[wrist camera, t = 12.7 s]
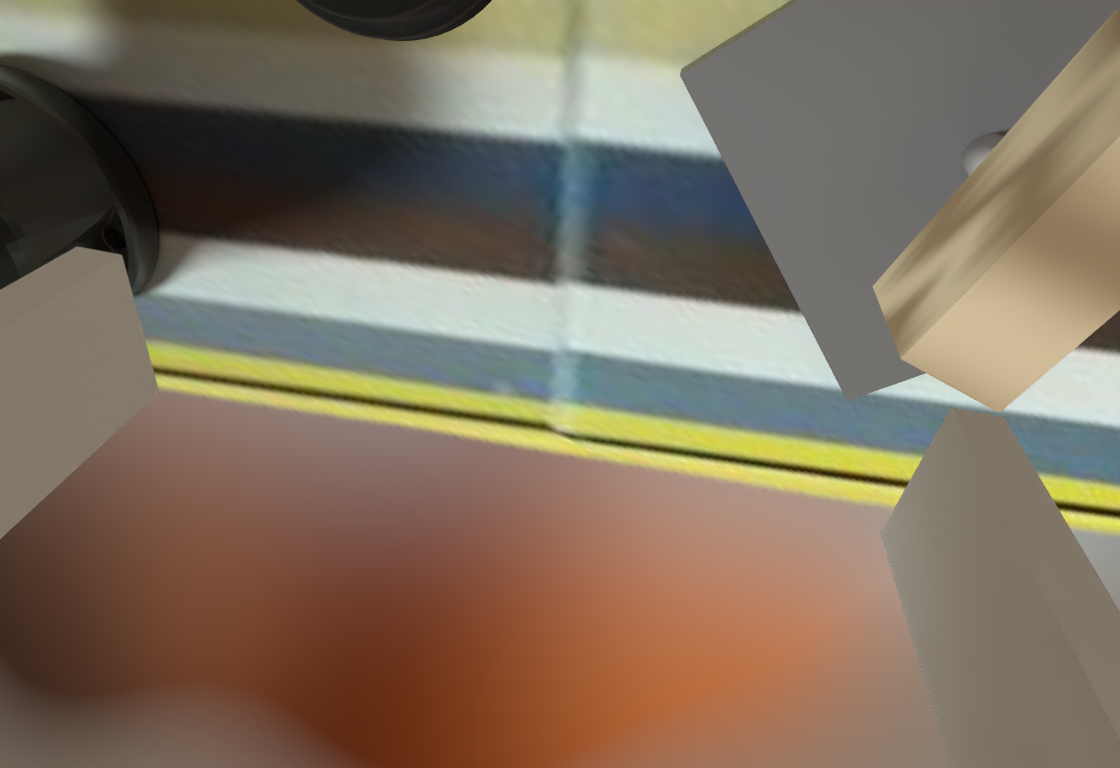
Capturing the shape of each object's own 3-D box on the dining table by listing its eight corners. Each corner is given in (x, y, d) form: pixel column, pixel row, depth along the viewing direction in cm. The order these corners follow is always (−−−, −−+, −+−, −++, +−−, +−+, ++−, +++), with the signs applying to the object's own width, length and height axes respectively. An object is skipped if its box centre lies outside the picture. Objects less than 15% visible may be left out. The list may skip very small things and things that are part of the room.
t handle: (955, 332, 31) (1001, 417, 26) (872, 286, 30) (902, 363, 25) (1219, 74, 24) (1351, 120, 19) (1116, 9, 24) (1224, 38, 18)
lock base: (843, 385, 41) (859, 451, 36) (681, 68, 33) (674, 97, 28) (1282, 227, 32) (1382, 285, 27) (1202, -257, 24) (1322, -297, 19)
